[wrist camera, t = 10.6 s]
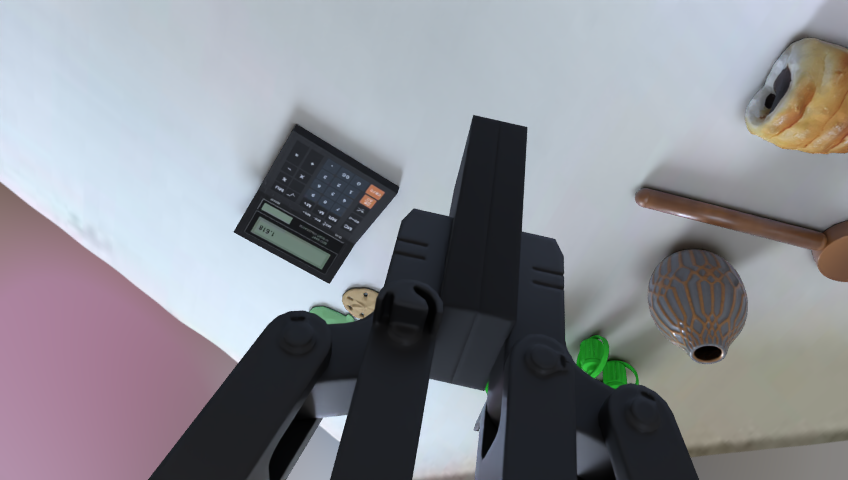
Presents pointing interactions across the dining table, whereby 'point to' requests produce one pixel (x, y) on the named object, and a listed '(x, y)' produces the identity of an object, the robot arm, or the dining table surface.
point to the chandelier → (601, 363)
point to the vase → (698, 303)
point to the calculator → (314, 205)
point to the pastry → (804, 99)
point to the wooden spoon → (760, 229)
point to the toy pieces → (357, 303)
